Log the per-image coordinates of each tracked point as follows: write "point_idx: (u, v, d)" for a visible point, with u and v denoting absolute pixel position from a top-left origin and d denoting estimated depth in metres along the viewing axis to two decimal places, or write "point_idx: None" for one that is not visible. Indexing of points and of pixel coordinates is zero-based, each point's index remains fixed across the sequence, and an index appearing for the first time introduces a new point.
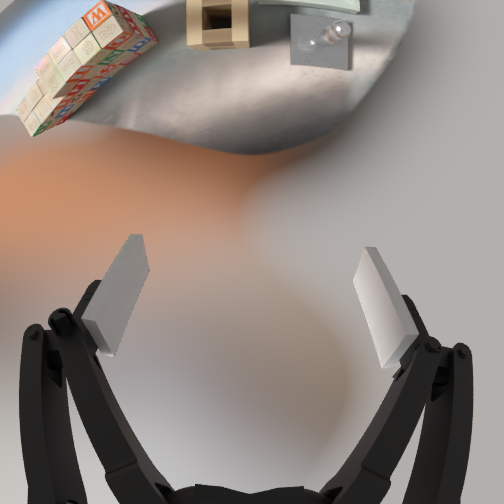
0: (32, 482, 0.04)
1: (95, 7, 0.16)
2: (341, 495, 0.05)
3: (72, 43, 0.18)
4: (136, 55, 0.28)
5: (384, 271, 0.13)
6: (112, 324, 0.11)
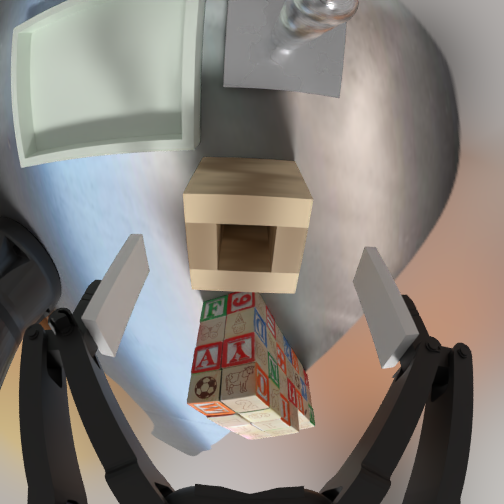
0: (31, 483, 0.04)
1: (197, 408, 0.20)
2: (341, 495, 0.05)
3: (241, 423, 0.22)
4: (267, 314, 0.29)
5: (384, 271, 0.13)
6: (112, 324, 0.11)
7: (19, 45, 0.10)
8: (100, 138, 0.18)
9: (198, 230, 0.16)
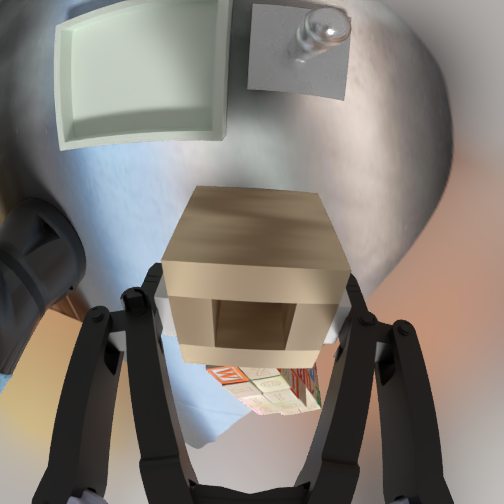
0: (53, 462, 0.05)
1: (214, 374, 0.23)
2: (310, 491, 0.05)
3: (254, 393, 0.25)
4: None
5: None
6: None
7: (62, 41, 0.14)
8: (137, 127, 0.21)
9: (187, 305, 0.11)
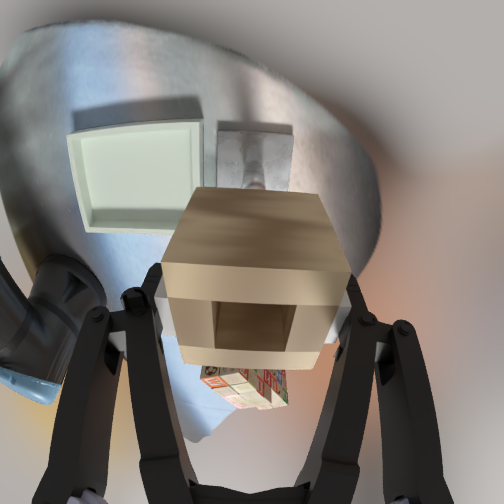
0: (53, 462, 0.05)
1: (206, 382, 0.36)
2: (311, 492, 0.05)
3: (232, 393, 0.37)
4: None
5: None
6: None
7: (74, 150, 0.26)
8: (142, 219, 0.33)
9: (187, 307, 0.11)
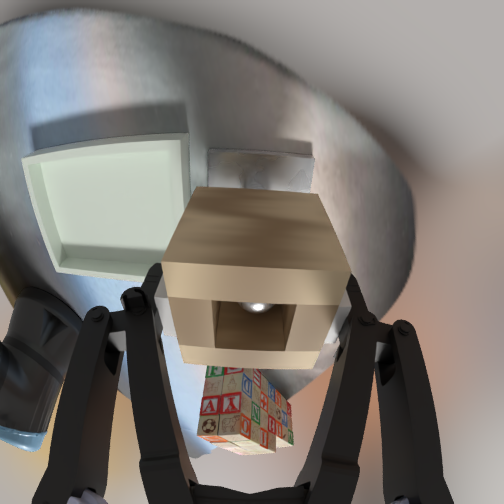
0: (53, 462, 0.05)
1: (203, 437, 0.29)
2: (310, 491, 0.05)
3: (233, 447, 0.30)
4: (254, 371, 0.37)
5: None
6: None
7: (32, 176, 0.19)
8: (119, 260, 0.26)
9: (187, 306, 0.11)
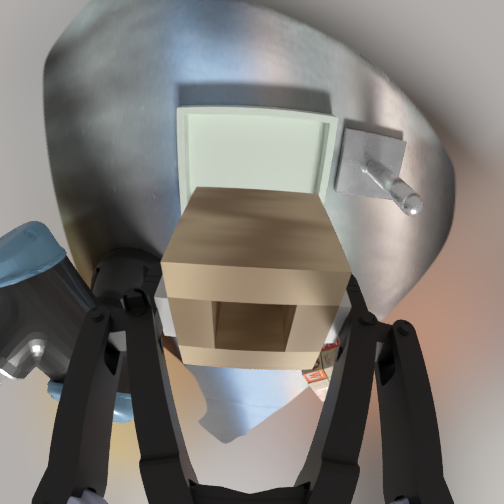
0: (53, 462, 0.05)
1: (306, 377, 0.36)
2: (311, 491, 0.05)
3: (326, 386, 0.38)
4: None
5: None
6: None
7: (185, 125, 0.26)
8: None
9: (187, 307, 0.11)
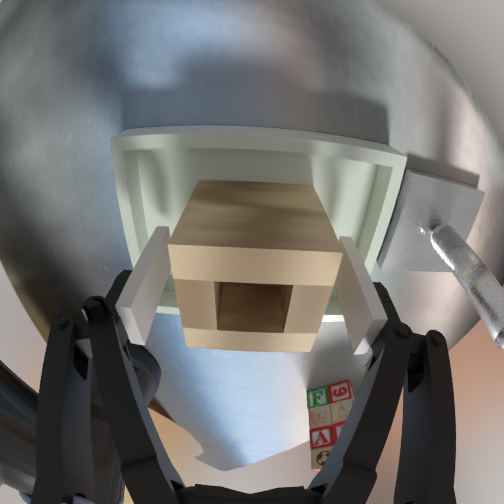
0: (40, 472, 0.04)
1: (316, 470, 0.25)
2: (327, 492, 0.05)
3: None
4: None
5: (357, 259, 0.14)
6: (144, 312, 0.12)
7: (127, 170, 0.14)
8: None
9: (191, 288, 0.12)
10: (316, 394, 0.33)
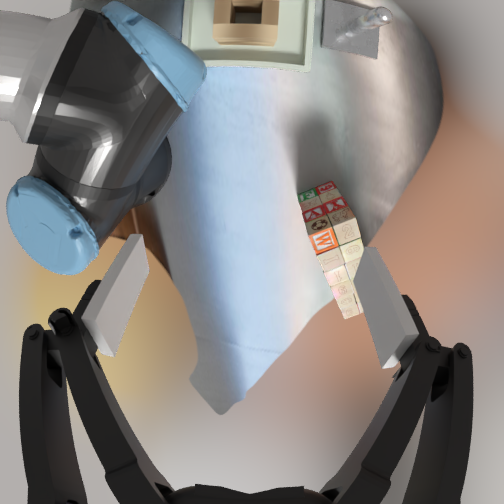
0: (31, 483, 0.04)
1: (313, 242, 0.33)
2: (341, 495, 0.05)
3: (339, 263, 0.34)
4: None
5: (384, 271, 0.13)
6: (112, 324, 0.11)
7: None
8: (246, 60, 0.29)
9: (221, 2, 0.20)
10: (306, 194, 0.41)
